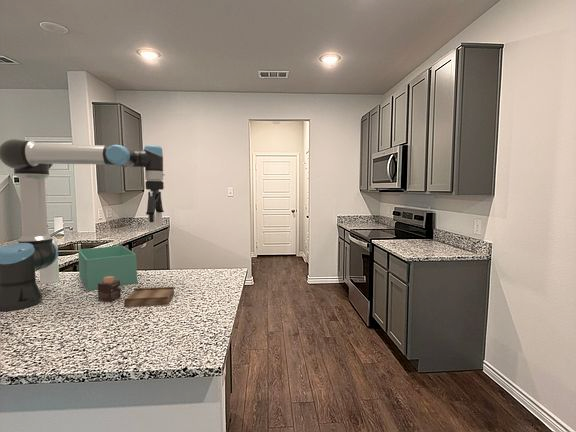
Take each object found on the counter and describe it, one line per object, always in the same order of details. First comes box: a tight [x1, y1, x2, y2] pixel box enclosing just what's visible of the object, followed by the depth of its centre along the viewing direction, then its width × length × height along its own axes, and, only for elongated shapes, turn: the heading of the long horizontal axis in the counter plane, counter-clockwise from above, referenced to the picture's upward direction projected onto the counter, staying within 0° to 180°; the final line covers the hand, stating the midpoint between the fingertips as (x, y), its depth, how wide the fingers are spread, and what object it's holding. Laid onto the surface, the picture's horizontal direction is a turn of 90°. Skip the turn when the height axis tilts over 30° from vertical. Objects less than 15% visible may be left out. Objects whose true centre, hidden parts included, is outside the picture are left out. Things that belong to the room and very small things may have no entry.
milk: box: [39, 236, 60, 285], centre depth 159 cm, size 6×6×22 cm
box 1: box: [77, 245, 138, 292], centre depth 164 cm, size 21×32×14 cm, turn 38°
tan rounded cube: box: [103, 276, 114, 283], centre depth 135 cm, size 3×3×2 cm
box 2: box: [97, 280, 122, 303], centre depth 135 cm, size 6×6×7 cm
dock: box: [123, 286, 175, 308], centre depth 134 cm, size 16×14×3 cm
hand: (155, 228), depth 148 cm, fingers open, 13 cm apart
